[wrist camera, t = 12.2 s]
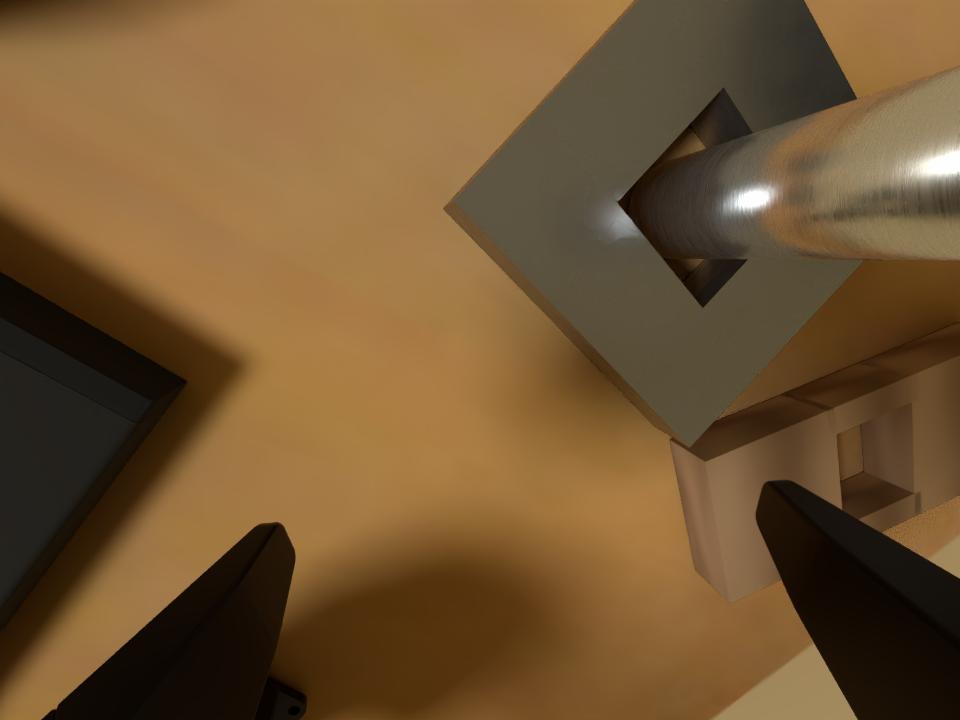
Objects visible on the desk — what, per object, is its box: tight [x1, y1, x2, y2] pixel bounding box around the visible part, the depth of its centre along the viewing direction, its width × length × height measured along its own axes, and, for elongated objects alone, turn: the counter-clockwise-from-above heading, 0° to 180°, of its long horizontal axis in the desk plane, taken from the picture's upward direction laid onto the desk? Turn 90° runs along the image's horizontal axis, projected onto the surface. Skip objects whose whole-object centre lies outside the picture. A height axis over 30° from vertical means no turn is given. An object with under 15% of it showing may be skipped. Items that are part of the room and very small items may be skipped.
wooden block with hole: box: [670, 322, 960, 604], centre depth 23 cm, size 18×8×2 cm, turn 107°
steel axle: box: [628, 66, 960, 260], centre depth 13 cm, size 4×4×13 cm
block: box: [443, 0, 864, 448], centre depth 18 cm, size 14×14×2 cm
